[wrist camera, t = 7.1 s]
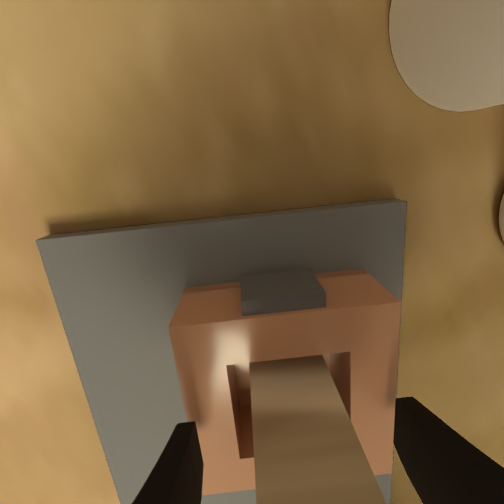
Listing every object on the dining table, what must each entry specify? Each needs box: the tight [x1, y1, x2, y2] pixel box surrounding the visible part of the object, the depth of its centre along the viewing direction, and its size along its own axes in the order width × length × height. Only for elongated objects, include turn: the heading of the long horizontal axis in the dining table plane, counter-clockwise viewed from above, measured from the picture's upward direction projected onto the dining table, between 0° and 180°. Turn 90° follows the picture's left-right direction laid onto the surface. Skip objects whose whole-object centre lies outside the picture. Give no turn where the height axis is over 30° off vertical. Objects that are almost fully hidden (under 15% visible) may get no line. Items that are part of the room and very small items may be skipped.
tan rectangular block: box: [249, 355, 386, 504], centre depth 10 cm, size 3×3×9 cm
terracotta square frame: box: [168, 269, 401, 495], centre depth 13 cm, size 9×8×3 cm
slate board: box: [36, 199, 407, 504], centre depth 16 cm, size 22×16×1 cm
